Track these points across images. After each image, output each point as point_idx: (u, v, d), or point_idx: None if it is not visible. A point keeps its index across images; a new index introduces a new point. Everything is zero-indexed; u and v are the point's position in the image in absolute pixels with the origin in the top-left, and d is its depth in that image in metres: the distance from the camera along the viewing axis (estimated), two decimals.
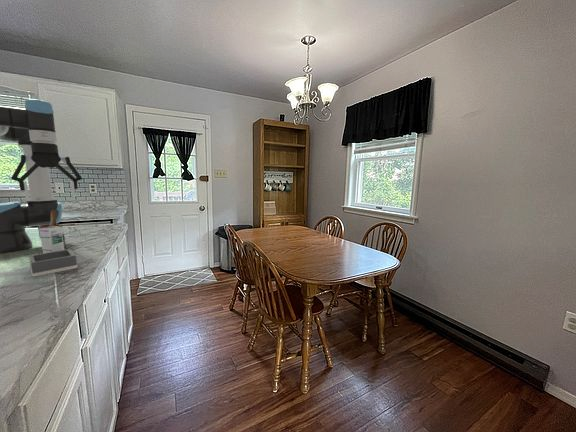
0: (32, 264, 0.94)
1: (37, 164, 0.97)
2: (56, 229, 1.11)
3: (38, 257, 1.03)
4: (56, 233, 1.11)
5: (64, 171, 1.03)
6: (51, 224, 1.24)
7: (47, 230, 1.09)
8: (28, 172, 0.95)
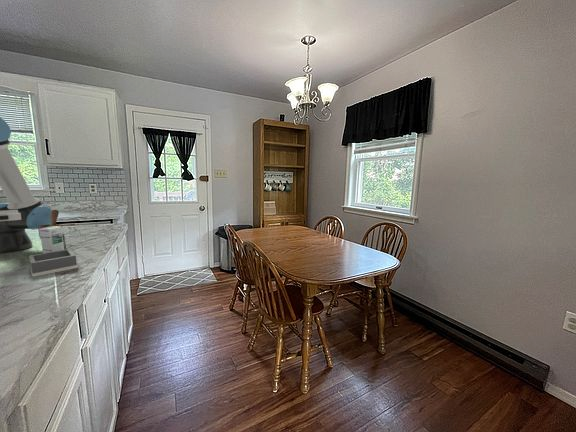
0: (32, 264, 0.94)
1: None
2: (56, 229, 1.11)
3: (38, 257, 1.03)
4: (56, 233, 1.11)
5: None
6: (51, 224, 1.24)
7: (47, 230, 1.09)
8: None
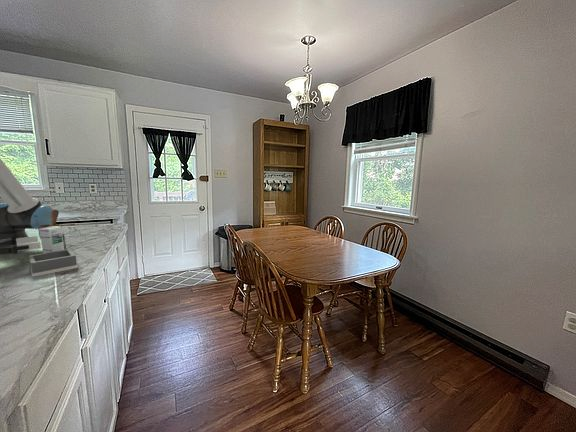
0: (32, 264, 0.94)
1: None
2: (56, 229, 1.11)
3: (38, 257, 1.03)
4: (56, 233, 1.11)
5: None
6: (51, 224, 1.24)
7: (47, 230, 1.09)
8: None
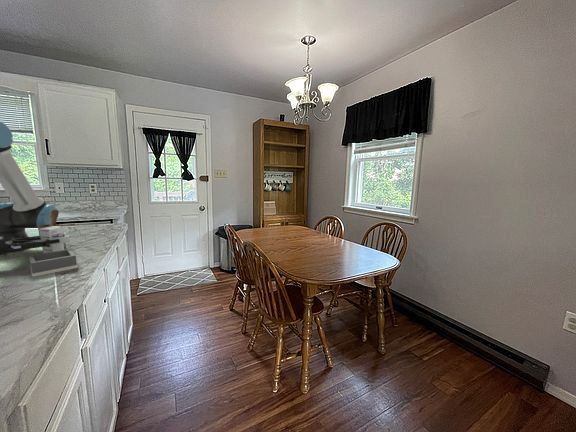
0: (32, 264, 0.94)
1: None
2: (56, 229, 1.11)
3: (38, 257, 1.03)
4: (56, 232, 1.11)
5: None
6: (51, 224, 1.24)
7: (47, 230, 1.09)
8: None
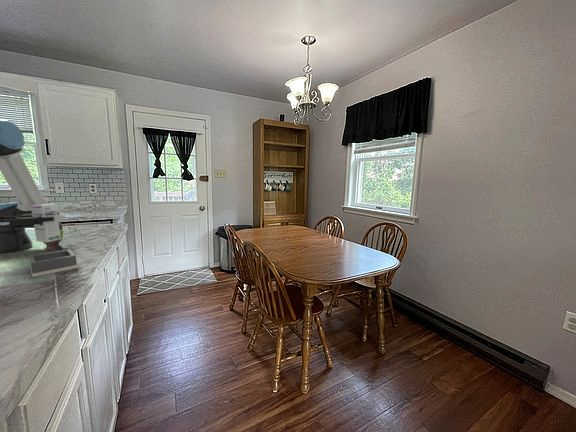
0: (32, 264, 0.94)
1: None
2: (50, 206, 0.99)
3: (38, 257, 1.03)
4: (50, 210, 0.99)
5: None
6: None
7: (40, 206, 0.96)
8: None
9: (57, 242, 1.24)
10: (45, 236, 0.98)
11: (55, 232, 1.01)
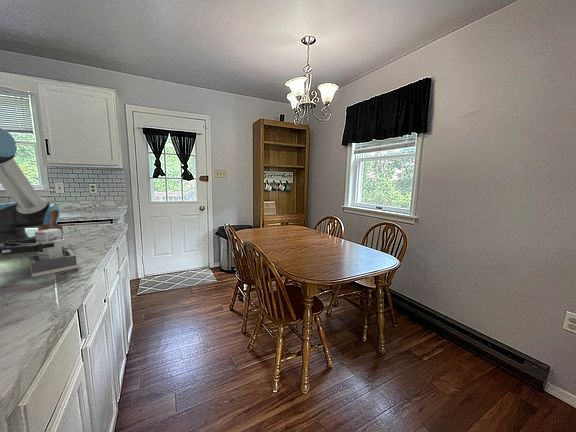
0: (32, 264, 0.94)
1: None
2: (53, 232, 1.00)
3: (38, 257, 1.03)
4: (54, 236, 1.01)
5: None
6: (51, 224, 1.24)
7: (43, 233, 0.98)
8: None
9: None
10: None
11: (58, 257, 1.02)
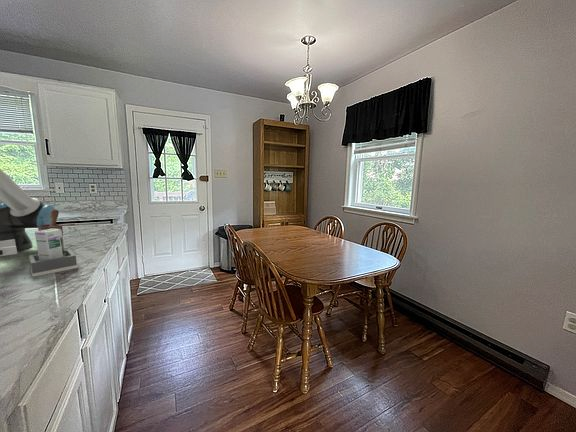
0: (32, 264, 0.94)
1: None
2: (53, 232, 1.00)
3: (38, 257, 1.03)
4: (54, 236, 1.01)
5: None
6: (51, 224, 1.24)
7: (43, 233, 0.98)
8: None
9: None
10: None
11: (58, 257, 1.02)
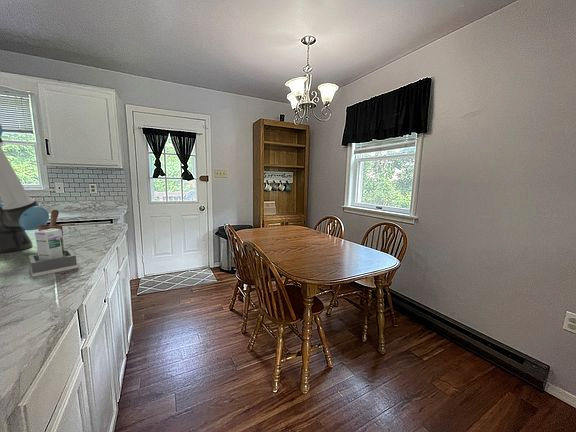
0: (32, 264, 0.94)
1: None
2: (53, 232, 1.00)
3: (38, 257, 1.03)
4: (54, 236, 1.01)
5: None
6: (51, 224, 1.24)
7: (43, 233, 0.98)
8: None
9: None
10: None
11: (58, 257, 1.02)
